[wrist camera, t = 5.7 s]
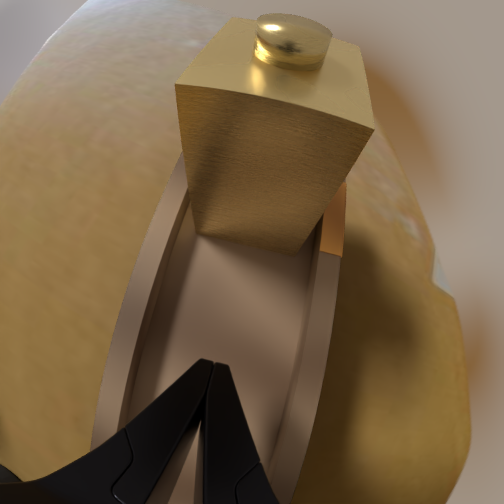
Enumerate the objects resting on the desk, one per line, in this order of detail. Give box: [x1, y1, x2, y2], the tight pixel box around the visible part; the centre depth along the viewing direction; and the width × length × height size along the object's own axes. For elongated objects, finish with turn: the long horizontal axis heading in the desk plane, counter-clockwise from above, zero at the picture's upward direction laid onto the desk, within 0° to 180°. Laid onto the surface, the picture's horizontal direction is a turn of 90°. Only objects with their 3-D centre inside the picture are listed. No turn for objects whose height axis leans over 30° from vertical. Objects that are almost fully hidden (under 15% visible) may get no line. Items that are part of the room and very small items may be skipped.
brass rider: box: [175, 13, 375, 257], centre depth 10 cm, size 5×5×9 cm
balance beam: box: [90, 151, 346, 504], centre depth 12 cm, size 22×9×6 cm, turn 168°
